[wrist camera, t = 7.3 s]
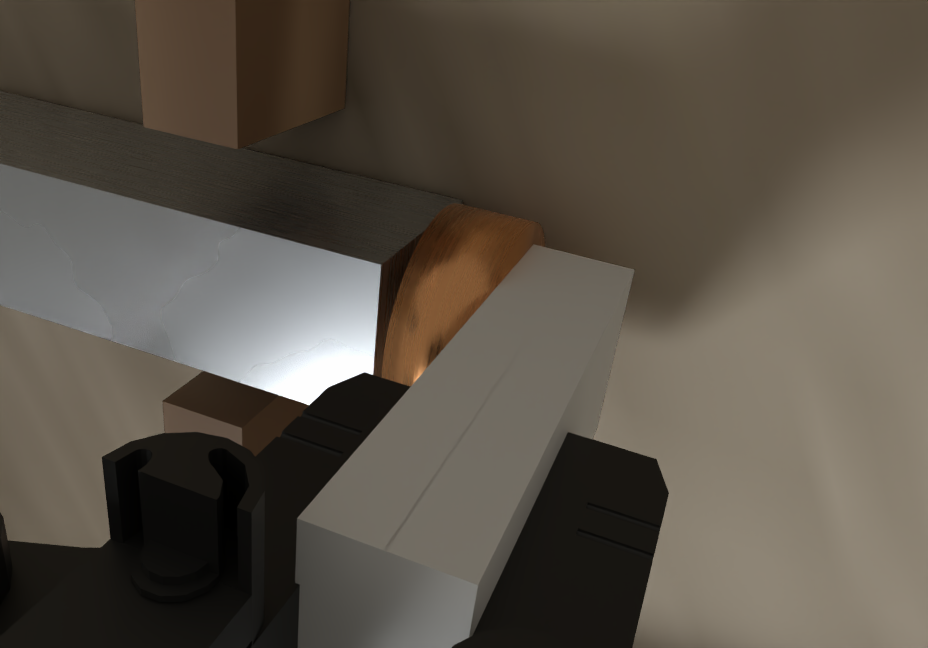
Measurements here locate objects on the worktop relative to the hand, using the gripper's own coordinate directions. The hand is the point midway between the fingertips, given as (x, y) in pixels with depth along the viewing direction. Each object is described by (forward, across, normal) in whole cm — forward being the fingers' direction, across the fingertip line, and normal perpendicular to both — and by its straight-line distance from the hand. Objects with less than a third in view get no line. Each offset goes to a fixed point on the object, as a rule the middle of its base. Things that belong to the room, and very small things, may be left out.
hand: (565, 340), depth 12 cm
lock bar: (+1, -10, 0) cm, 10 cm away
